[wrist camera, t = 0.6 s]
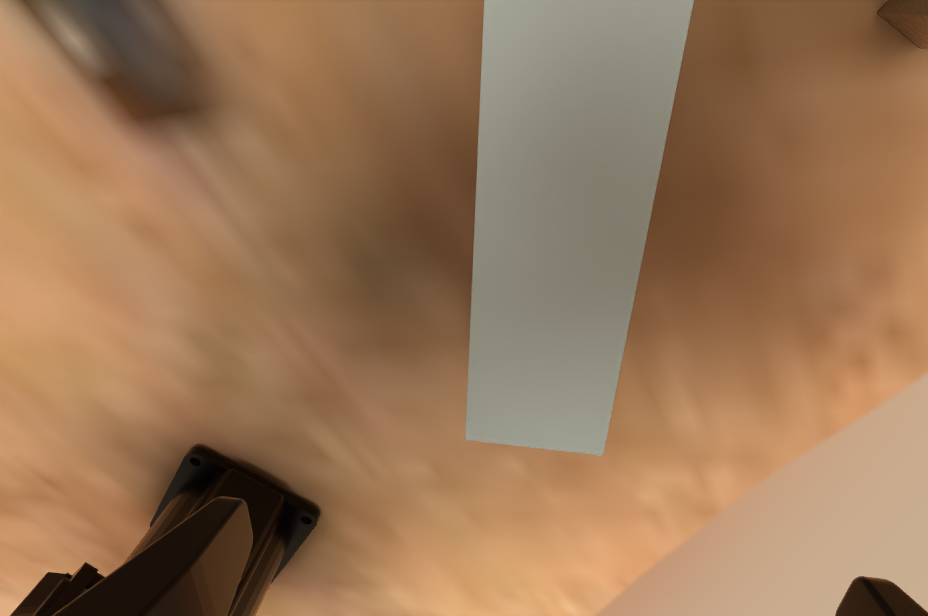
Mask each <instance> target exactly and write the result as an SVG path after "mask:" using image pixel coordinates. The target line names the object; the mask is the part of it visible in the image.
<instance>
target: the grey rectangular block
mask: <svg viewBox="0 0 928 616" xmlns="http://www.w3.org/2000/svg"><path fill="white" fill-rule="evenodd" d="M693 2H694V0H484V20H483V43H482V66H481V89H480V112H479V135H478V158H477V181H476V204H475V227H474V250H473V273H472V296H471V319H470V342H469V365H468V388H467V411H466V434H465V440H470V441H479V442H488V443H496V444H505V445H514V446H522V447H531V448H540V449H548V450H557V451H566V452H574V453H583V454H592V455H600V456H603V453H604V448H605V443H606V438H607V433H608V428H609V423H610V418H611V413H612V408H613V403H614V398H615V393H616V388H617V383H618V378H619V373H620V368H621V363H622V358H623V353H624V348H625V343H626V338H627V333H628V328H629V323H630V318H631V313H632V308H633V303H634V298H635V293H636V288H637V283H638V278H639V273H640V268H641V263H642V258H643V253H644V248H645V243H646V238H647V233H648V228H649V223H650V218H651V213H652V208H653V203H654V198H655V193H656V188H657V183H658V178H659V173H660V168H661V163H662V158H663V153H664V147H665V142H666V137H667V132H668V127H669V122H670V117H671V112H672V107H673V102H674V97H675V92H676V87H677V82H678V77H679V72H680V67H681V62H682V57H683V52H684V47H685V42H686V37H687V32H688V27H689V22H690V17H691V12H692V7H693Z"/></svg>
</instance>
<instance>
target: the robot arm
mask: <svg viewBox="0 0 928 616" xmlns="http://www.w3.org/2000/svg"><path fill="white" fill-rule="evenodd" d="M319 517H320V513H319V511H318V510H317V509H315V508H314V507H312V506H310V505H308V504H307V503H305V502H303V501H301V500H299V499H297V498H295V497H293V496H292V495H290V494H288V493H286V492H284V491H282V490H280V489H278V488H277V487H275V486H273V485H271V484H269V483H267V482H265V481H263V480H262V479H260V478H258V477H256V476H254V475H252V474H250V473H248V472H246V471H245V470H243V469H241V468H239V467H237V466H235V465H233V464H231V463H230V462H228V461H226V460H224V459H222V458H220V457H218V456H216V455H215V454H213V453H211V452H209V451H207V450H205V449H203V448H200V447H193V448H191V449H190V451H189V452H188V453H187V454H186V456H185V457H184V459H183V461H182V463H181V465H180V467H179V469H178V471H177V473H176V475H175V477H174V479H173V481H172V482H171V484H170V486H169V488H168V490H167V492H166V494H165V496H164V498H163V500H162V502H161V504H160V506H159V508H158V510H157V512H156V513H155V515H154V517H153V519H152V521H151V523H150V527H151V528H150V529H149V531H148V532H147V533H146V535H145V536H144V537H143V539H142V540H141V541H140V543H139V544H138V545H137V547H136V548H135V549H134V551H133V552H132V553H131V555H130V556H129V557H128V559H127V560H126V561H125V563H124V564H123V565H122V566H120V567H119V568H118V569H116V570H115V571H113V572H112V573H111V574H109V575H108V576H107V577H104V576H102V575H101V574H99V573H97V571H98V569H96V568H95V567H93V566H92V565H90V564H88V563H87V562H85V563H84V564H83V565H82V566H81V567H80V568H79V569H78V570H77V571H76V572H75V573H74V574H73V575H70V574H69V573H66V574H61V573H52V572H48V573H47V574H46V575H45V576H44V577H43V578H42V579H41V581H40V582H39V583H38V584H37V585H36V586H35V587H34V589H33V590H32V591H31V592H30V593H29V594H28V596H27V597H26V598H25V599H24V600H23V601H22V602H21V604H20V605H19V606H18V607H17V608H16V609H15V610H14V612H13V613H12V614H11V615H10V616H255V615H256V613H257V611H258V609H259V606H260V604H261V602H262V600H263V598H264V596H265V594H266V592H267V590H268V588H269V586H270V584H271V583H272V582H273V580H274V579H275V578H276V577H277V575H278V574H279V573H280V571H281V570H282V569H283V567H284V566H285V565H286V564H287V562H288V561H289V560H290V558H291V557H292V556H293V555H294V553H295V552H296V551H297V549H298V548H299V547H300V546H301V544H302V543H303V542H304V540H305V539H306V538H307V536H308V535H309V534H310V533H311V531H312V530H313V529H314V527H315V526H316V524H317V522H318V520H319ZM835 616H928V612H927V611H926V610H924V609H923V608H922V607H921V606H920V605H919V604H917V603H916V602H915V601H914V600H913V599H912V598H911V597H910V596H908V595H907V594H906V593H905V592H904V591H902V589H900V588H899V587H898V586H897V585H895V584H894V583H892V582H891V581H888V580H886V579H880V578H872V577H864V576H860V577H857V578H855V579H854V580H853V581H852V583H851V585H850V587H849V588H848V590H847V592H846V594H845V596H844V598H843V599H842V601H841V603H840V605H839V607H838V609H837V611H836V615H835Z"/></svg>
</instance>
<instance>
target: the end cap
mask: <svg viewBox="0 0 928 616" xmlns="http://www.w3.org/2000/svg"><path fill="white" fill-rule="evenodd" d="M877 13H878V14H880V15H881V16H882V17H883V18H884V19H886V20H887V21H888V22H889V23H890V24H892V25H893V26H894V27H895V28H896V29H898V30H899V31H900V32H901V33H902V34H904V35H905V36H906V37H907V38H908V39H910V40H911V41H912V42H913V43H914V44H916V45H917V46H918V47H919V48H924V49H928V0H888V2H887V3H886V4H885V5H884V6H883V7H882V8H881V9H880V10H879V11H878V12H877Z"/></svg>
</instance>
